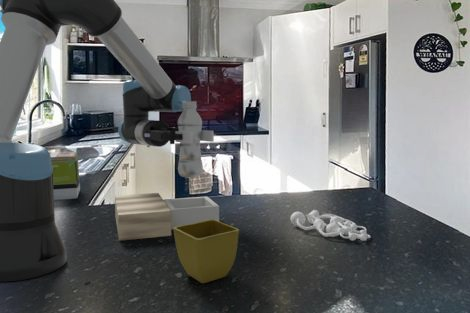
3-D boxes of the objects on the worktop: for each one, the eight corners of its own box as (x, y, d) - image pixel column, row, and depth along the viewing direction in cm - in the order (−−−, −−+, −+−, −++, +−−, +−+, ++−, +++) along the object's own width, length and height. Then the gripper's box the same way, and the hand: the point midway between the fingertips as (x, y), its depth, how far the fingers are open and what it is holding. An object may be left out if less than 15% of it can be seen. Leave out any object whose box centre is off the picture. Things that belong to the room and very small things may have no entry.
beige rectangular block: (171, 235, 98) (170, 210, 97) (119, 240, 94) (118, 215, 93) (158, 213, 119) (158, 192, 118) (115, 216, 115) (114, 195, 114)
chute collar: (219, 225, 106) (219, 206, 106) (171, 229, 103) (170, 209, 102) (207, 213, 118) (207, 196, 118) (164, 217, 114) (163, 199, 114)
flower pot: (198, 291, 68) (197, 238, 67) (173, 274, 75) (172, 226, 74) (240, 278, 73) (240, 229, 72) (213, 263, 80) (213, 218, 79)
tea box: (51, 192, 150) (48, 151, 148) (80, 190, 153) (78, 150, 151) (45, 201, 135) (42, 156, 134) (78, 198, 138) (75, 155, 137)
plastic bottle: (173, 178, 108) (171, 101, 105) (187, 174, 113) (186, 101, 111) (193, 180, 105) (192, 101, 102) (207, 176, 110) (206, 101, 108)
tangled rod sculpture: (385, 241, 97) (386, 224, 97) (344, 249, 89) (346, 230, 88) (323, 221, 113) (324, 206, 112) (284, 226, 104) (285, 210, 104)
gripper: (180, 144, 128) (230, 149, 111) (124, 148, 115) (171, 154, 98) (179, 119, 127) (230, 121, 110) (123, 121, 114) (170, 122, 97)
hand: (202, 136), depth 104 cm, fingers closed on plastic bottle, 6 cm apart
